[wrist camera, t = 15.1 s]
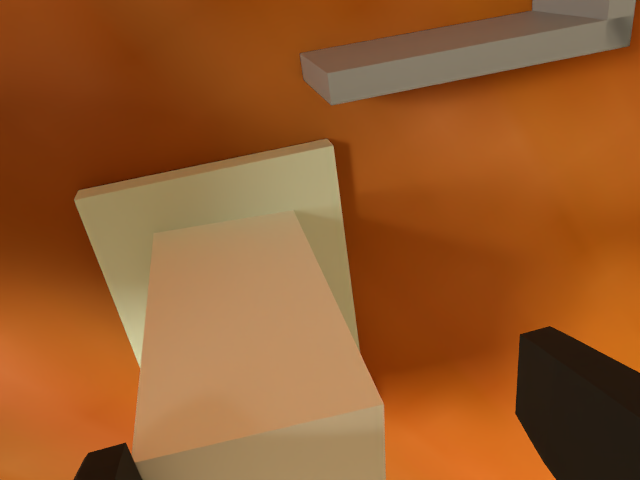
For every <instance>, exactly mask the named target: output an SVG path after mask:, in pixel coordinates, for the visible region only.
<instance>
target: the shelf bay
mask: <svg viewBox="0 0 640 480" xmlns="http://www.w3.org/2000/svg"><path fill="white" fill-rule="evenodd" d="M635 3H636V0H533V3H532V11H527V12H522V13H517V14H511V15H506V16H500V17H495V18H489V19H484V20H478V21H473V22H468V23H462V24H457V25H451V26H446V27H440V28H435V29H429V30H424V31H419V32H413V33H408V34H402V35H397V36H391V37H386V38H380V39H375V40H370V41H364V42H359V43H353V44H348V45H342V46H337V47H331V48H326V49H320V50H315V51H310V52H304V53H300V59H301V66H302V73H303V79H304V81H305V82H306V83H307V84H309V85H310V86H311V87H312V88H313V89H314V90H315V91H316V92H317V93H318V94H319V95H321V96H322V97H323V98H324V99H325V100H326V101H327V102H328V103H329V104H330V105H336V104H341V103H346V102H351V101H356V100H361V99H366V98H371V97H376V96H381V95H386V94H391V93H396V92H401V91H406V90H411V89H416V88H421V87H426V86H431V85H436V84H442V83H447V82H452V81H457V80H462V79H467V78H472V77H477V76H482V75H487V74H492V73H497V72H502V71H507V70H512V69H517V68H522V67H527V66H532V65H537V64H542V63H547V62H552V61H557V60H562V59H567V58H572V57H577V56H582V55H587V54H592V53H597V52H602V51H607V50H612V49H617V48H622V47H627V46H630V39H631V32H632V25H633V18H634V10H635Z"/></svg>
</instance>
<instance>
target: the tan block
mask: <svg viewBox="0 0 640 480" xmlns="http://www.w3.org/2000/svg"><path fill="white" fill-rule="evenodd" d="M132 458H133V460H134V462H135V464H136V466H137V469H138V471H139V473H140V475H141V478H142V480H386V472H385V429H384V403H383V401H382V399H381V397H380V395H379V393H378V390H377V388H376V386H375V384H374V382H373V380H372V378H371V375H370V373H369V371H368V369H367V367H366V365H365V363H364V360H363V358H362V356H361V354H360V352H359V350H358V348H357V345H356V343H355V341H354V339H353V337H352V335H351V333H350V330H349V328H348V326H347V324H346V322H345V320H344V318H343V315H342V313H341V311H340V309H339V307H338V305H337V303H336V300H335V298H334V296H333V294H332V292H331V290H330V288H329V285H328V283H327V281H326V279H325V277H324V275H323V273H322V270H321V268H320V266H319V264H318V262H317V260H316V258H315V255H314V253H313V251H312V249H311V247H310V245H309V243H308V240H307V238H306V236H305V234H304V232H303V230H302V228H301V225H300V223H299V221H298V219H297V217H296V215H295V213H294V210H290V211H284V212H278V213H272V214H266V215H260V216H254V217H248V218H242V219H236V220H230V221H224V222H218V223H211V224H205V225H199V226H193V227H187V228H181V229H175V230H169V231H163V232H157V233H154V234H153V245H152V255H151V265H150V275H149V285H148V295H147V306H146V316H145V326H144V336H143V346H142V357H141V367H140V377H139V387H138V397H137V407H136V418H135V428H134V438H133V448H132Z"/></svg>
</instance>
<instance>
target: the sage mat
mask: <svg viewBox="0 0 640 480" xmlns="http://www.w3.org/2000/svg"><path fill="white" fill-rule="evenodd" d="M74 202H75V204H76V207H77V209H78V212H79V214H80V217H81V220H82V222H83V225H84V227H85V230H86V232H87V235H88V237H89V240H90V242H91V245H92V247H93V250H94V252H95V255H96V257H97V260H98V263H99V265H100V268H101V270H102V273H103V275H104V278H105V280H106V283H107V285H108V288H109V290H110V293H111V295H112V298H113V301H114V303H115V306H116V308H117V311H118V313H119V316H120V318H121V321H122V323H123V326H124V328H125V331H126V333H127V336H128V339H129V341H130V344H131V346H132V349H133V351H134V354H135V356H136V359H137V361H138V364H139V366H140V367H141V357H142V346H143V336H144V326H145V316H146V306H147V295H148V285H149V275H150V265H151V255H152V245H153V234H154V233H157V232H163V231H169V230H175V229H181V228H187V227H193V226H199V225H205V224H211V223H218V222H224V221H230V220H236V219H242V218H248V217H254V216H260V215H266V214H272V213H278V212H284V211H290V210H294V213H295V215H296V217H297V219H298V221H299V223H300V225H301V228H302V230H303V232H304V234H305V236H306V238H307V240H308V243H309V245H310V247H311V249H312V251H313V253H314V255H315V258H316V260H317V262H318V264H319V266H320V268H321V270H322V273H323V275H324V277H325V279H326V281H327V283H328V285H329V288H330V290H331V292H332V294H333V296H334V298H335V300H336V303H337V305H338V307H339V309H340V311H341V313H342V315H343V318H344V320H345V322H346V324H347V326H348V328H349V330H350V333H351V335H352V337H353V339H354V341H355V343H356V345H357V348H358V350H359V352H360V348H359V340H358V332H357V325H356V317H355V309H354V301H353V294H352V286H351V278H350V270H349V263H348V255H347V247H346V239H345V232H344V224H343V216H342V208H341V201H340V193H339V185H338V177H337V170H336V162H335V154H334V146H333V144H332V143H331V142H330V141H329V140H328V139H323V140H318V141H313V142H308V143H303V144H298V145H294V146H289V147H284V148H279V149H274V150H270V151H265V152H260V153H255V154H250V155H246V156H241V157H236V158H231V159H226V160H221V161H217V162H212V163H207V164H202V165H197V166H193V167H188V168H183V169H178V170H173V171H169V172H164V173H159V174H154V175H149V176H144V177H140V178H135V179H130V180H125V181H120V182H116V183H111V184H106V185H101V186H96V187H92V188H87V189H82V190H78V192H77V194H76V196H75V199H74Z"/></svg>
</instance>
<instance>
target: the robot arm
mask: <svg viewBox="0 0 640 480" xmlns="http://www.w3.org/2000/svg"><path fill="white" fill-rule="evenodd" d="M515 414H516V415H517V417H518V419H519V421H520V422H521V424H522V426H523V428H524V429H525V431H526V433H527V435H528V437H529V438H530V440H531V442H532V443H533V445H534V447H535V448H536V450H537V452H538V453H539V455H540V457H541V458H542V460H543V462H544V463H545V465H546V466H547V468H548V469H549V470H550V472H551V473H552V474H553V476H554V477H555V478H556V480H640V373H639V372H637V371H635V370H633V369H631V368H629V367H627V366H625V365H624V364H622V363H620V362H618V361H616V360H614V359H612V358H610V357H608V356H606V355H605V354H603V353H601V352H599V351H597V350H595V349H593V348H591V347H589V346H588V345H586V344H584V343H582V342H580V341H578V340H576V339H574V338H572V337H570V336H568V335H566V334H565V333H563V332H561V331H559V330H556V329H554V328H552V327H550V326H549V327H545V328H542V329H538V330H535V331H531V332H527V333H524V334H520V343H519V360H518V377H517V395H516V412H515ZM74 480H142V478H141V475H140V473H139V471H138V469H137V466H136V464H135V462H134V460H133V458H132V455H131V453H130V451H129V449H128V447H127V444H126V443H123V444H119V445H116V446H112V447H108V448H105V449H101V450H97V451H94V452H90V453H88V454H87V456H86V457H85V459H84V460H83V462H82V464H81V466H80V468H79V470H78V472H77V474H76V476H75V478H74Z"/></svg>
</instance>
